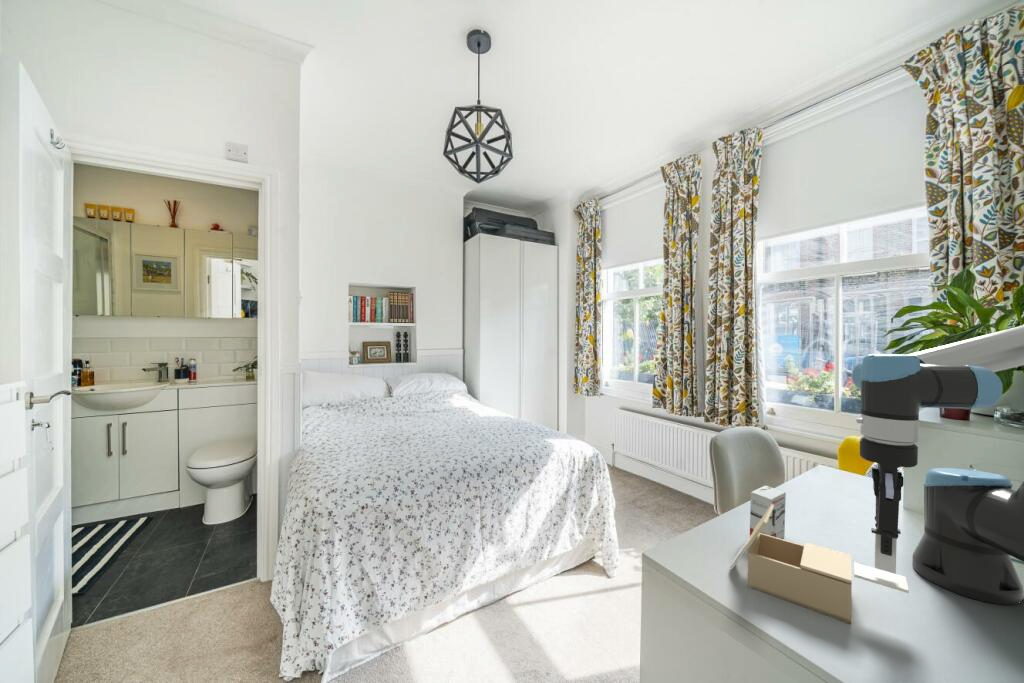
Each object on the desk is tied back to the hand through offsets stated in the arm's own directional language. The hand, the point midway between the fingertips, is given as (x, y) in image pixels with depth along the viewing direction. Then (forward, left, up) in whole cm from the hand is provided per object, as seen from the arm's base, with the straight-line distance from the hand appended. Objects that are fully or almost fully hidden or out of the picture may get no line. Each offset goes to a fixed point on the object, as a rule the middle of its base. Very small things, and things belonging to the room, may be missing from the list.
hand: (885, 568), depth 70 cm
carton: (+13, 0, -9) cm, 16 cm away
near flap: (+4, 0, -2) cm, 5 cm away
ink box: (+21, -20, -10) cm, 30 cm away
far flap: (+21, 0, -2) cm, 21 cm away
